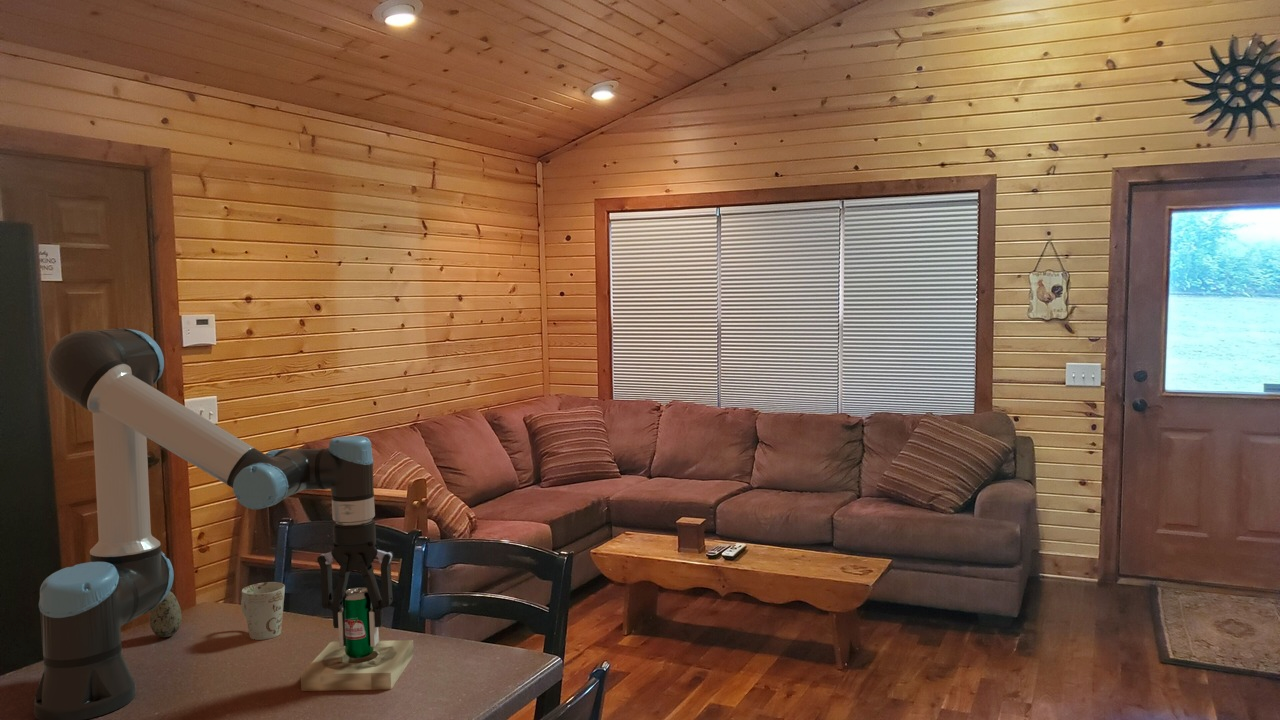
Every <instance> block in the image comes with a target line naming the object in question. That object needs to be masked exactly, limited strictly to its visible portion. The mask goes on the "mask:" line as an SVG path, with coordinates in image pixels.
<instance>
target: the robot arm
mask: <svg viewBox="0 0 1280 720" xmlns="http://www.w3.org/2000/svg"><path fill="white" fill-rule="evenodd" d="M46 365H47V373H48V376H49V378H50V380H51V382H52V384H53V386H54V387H56V389H57V390H58V391H59V392H60V393H61V394H63V395H64V396H65V397H66V398H68V399H69V400H71V401H73V402H74V403H76V404H77V405H79V406H80V407H82V408H84V409H86V410H87V411H89V412H91V413H92V414H91V415H92V430H93V451H94V453H93V454H94V469H95V470H94V471H95V475H94V476H95V494H96V509H97V512H96V513H97V532H98V533H97V534H98V540H97V541H98V542H96V544H95V545H94V546H93V547H91V548H90V550H89V561H88V562H82V563H77V564H75V565H73V566H67V567H64V568H61V569H59V570H56V571H55V572H53V573H51V574H50V575H49V576H47V577H46V578H45V579H44V580H43V582H42V583H41V585H40V587H39V601H38V609H39V612H40V625H41V644H42V655H43V657H42V658H43V669H42V672H41V677H40V679H39V683H38V686H37V689H36V693H35V695H34V700H33V713H34V714H33V715H34V718H35V719H37V720H88V719H93V718H95V717H100V716H102V715H106V714H108V713H111V712H114V711H116V710H118V709H121V708H122V707H124V706H126V705H128V704H129V703H131V701H132V700H133V699H134V698H135V696H136V682H135V679H134V676H133V675H132V672H131V670H130V668H129V666H128V665H129V664H128V663H127V662H126V661H127V660H126V659H125V657H124V655H123V651H122V632H121V631H122V630H121V629H122V627H123V626H125V625H127V624H128V623H130V622H132V621H134V620H135V619H136V618H139V617H141V616H143V615H146V614H147V613H149V612H151V610H152V609H154V608H155V607H156V606H157V605H158V604H159V603H160V602H162V601H163V600H164V599H165V597H166V596H167V595H168V593H169V592H170V591H171V590H172V586H173V584H174V577H175V576H174V573H175V572H174V568H173V565H172V561H171V560H170V558H167V556H166V554H165V553H164V552H163V551H162V548H161V545H162V543H161V541H160V540H159V539H157V538H156V537H155V536H153V535H152V530H151V529H152V527H151V509H150V508H151V507H150V486H149V485H150V484H149V463H148V462H149V461H148V445H147V444H148V443H147V442H148V439H149V440H151V441H153V442H154V443H156V444H158V445H159V446H161V447H163V448H164V449H165V450H166V451H169V452H171V453H172V454H173V455H176V456H178V457H179V458H181V459H182V460H184V461H186V462H187V463H189V464H191V465H193V466H195V467H196V468H198V469H199V470H201V471H203V472H204V473H206V474H208V475H209V476H211V477H212V478H215V479H216V480H218V481H219V482H221V483H223V484H225V485H227V486H228V487H230V488H231V489H232V490H233V491H232V492H233V494H234V497H235V498H236V500H237V502H238V503H239V504H240V505H242V506H243V507H245V508H247V509H250V510H262V509H265V508H269V507H274V506H276V505H277V504H279V503H281V501H284V500H285V499H287V498H289V497H292V496H293V495H295V494H297V493H300V492H301V491H310V490H313V491H315V490H330V495H331V513H332V515H331V517H332V520H333V521H334V523H333V524H332V537H333V538H332V540H333V546H332V548H331V551H329V552H323V553H322V554H320V555H319V556H318V557H317V559H316V560H317V563H318V566H319V569H320V583H321V584H320V586H321V587H320V588H321V591H320V592H321V608H322V609H325V610H326V609H327V610H330V611H331V612H332V621H333V622H332V623H333V628H334V629H338V641H339V647H344V646H345V636H344V614H343V597H344V595H345V591H346V590H347V586H348V582H349V577H350V573H351V572H353V571H355V572H360V574H361V575H360V576H361V577H362V578H363V580H364V581H363V582H364V583H365V588H367V591H368V594H369V597H370V600H371V603H372V609H371V610H370V612H369V620H370V644H371V647H374V646H375V645H376V644H377V643H378V642H379V641H380V636H379V635H380V634H379V628H381V627H382V626H383V624H384V611H383V610H384V609H386V608H388V607H389V606H390V605H391V604H392V603H393V600H394V599H393V584H392V583H393V582H392V568H391V567H392V565H391V563H392V560H393V557H394V552H393V551H391V550H389V551H388V552H387V551H385V550H380V547H379V546H378V544H377V533H376V532H377V531H376V521H375V520H374V517H376V509H375V492H374V491H375V490H374V459H373V449H372V441H371V440H370V439H369V437H366V436H363V435H347V436H337V437H334V438H331V439H330V440H329V443H328V447H327V448H289V447H287V448H286V447H285V448H283V449H272V450H269V451H268V452H266V454H265V453H264V452H262V451H260V450H258V449H257V448H255V447H254V446H252V445H250V444H249V443H247V442H246V441H244V440H242V439H240V438H239V437H237V436H235V435H234V434H232V433H230V432H229V431H227V430H225V429H224V428H222V427H220V426H219V425H217V424H215V423H213V422H212V421H210V420H208V419H207V418H205V417H204V416H203V415H200V414H198V413H197V412H196V411H194V410H192V409H190V408H189V407H187V406H185V405H184V404H182V403H180V402H178V401H177V400H175V399H173V398H172V397H170V396H169V395H167V394H165V393H163V392H162V391H160V390H159V389H157V388H155V387H154V385H155V384H156V383H157V382H158V380H159V379H160V378H161V377H162V374H163V371H164V370H165V369H164V368H165V359H164V354H163V352H162V349H161V347H160V346H159V345H158V343H157V341H156V340H155V339H153V338H152V337H151V336H149V334H147V333H145V332H143V331H140V330H136V329H130V328H120V327H118V328H109V329H108V328H106V329H92V330H91V329H89V330H88V329H87V330H86V329H85V330H78V331H77V330H76V331H74V332H71V333H69V334H67V335H64V336H62V337H61V338H60V339H59V340H58V341H57V342H56V343H55V344H54V345H53V347H52V348H51V350H50V352H49V354H48V357H47V363H46ZM376 558H378V563H379V564H380V581H381V592H380V588H379V585H378V582H377V580H376V576H375V571H374V565H373V562H374V560H375V559H376ZM334 560H335V562H336V563H337V564H338V566H339V571H338V578H337V583H336V588H335V591H334V597H333V566H332V563H333V561H334Z"/></svg>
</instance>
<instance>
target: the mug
mask: <svg viewBox="0 0 1280 720" xmlns="http://www.w3.org/2000/svg"><path fill="white" fill-rule="evenodd" d="M285 589H286V585H285V584H284V583H282V582H280V581H279V582H277V581H276V582H275V581H268V582H267V581H266V582H259V583H255V584H251V585H247V586H245V587H243V588H242V590H241V601H240V609H241V611H242V614H243V616H244V617H245V619H246V623H247V629H248V634H249V635H248V636H249V639H252V640H254V639H255V641H263V640H269V639H273V638H276V637H278V636H279V635H281V634H282V633H281V632H282V625H283V615H284V614H283V613H284V601H285V591H286V590H285Z"/></svg>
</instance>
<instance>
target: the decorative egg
mask: <svg viewBox="0 0 1280 720" xmlns="http://www.w3.org/2000/svg"><path fill="white" fill-rule="evenodd" d="M149 612H150V614H149V626H150V629H151V631H152V632H153V634H154V635H156V636H158V637H160V638H168V637H169V638H170V637H172V636H174V635H175V634H176V633H177V632H178V631H179V629H180V627H181V624H182V619H183V618H182V617H183V616H182V609H181V607H180V603H179V601H178V599H177V597H176V596H175V594H174V593H173V592H172V591H171V590H170V592H169V593H168V595H167V596H166V597H165V599H164V600H163V601H162V602H160V603H159V604H158V605H157V606H156V607H155V608H154V609H152V610H151V611H149Z"/></svg>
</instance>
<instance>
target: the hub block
mask: <svg viewBox="0 0 1280 720" xmlns="http://www.w3.org/2000/svg"><path fill="white" fill-rule="evenodd" d="M414 655H415V653H414V640H413V639H407V640H406V639H404V640H399V639H398V640H379V642H378V643H377V644H376V645H375V646H374V650H373V652H372V653H371V654H370V655H368V656H366V657H363V658H350V657H348V656H347V655H346V654H345V646H344V647H339V640H338V641H330V642H329V643H328V644H327V646H325V647H324V648H323V650H322V651H321V652H320V653H319V654H318V655H317V656H316V657H315V658H314V659H313V661H311V662H310V664H309V665H308V666H306V668H305V669H304V670H303V671H302V672H301V674H300V688H301V691H303V692H306V691H307V692H308V691H311V692H312V691H367V690H369V691H371V690H375V691H377V690H392V689H393V687H394V686H395V684H396V683H397V681H398V679H399V678H400V677H401V676H402V674H403V672H404V671H405V669H406V668H407V666H408V665H409V663H410V661H411V660H412V659H413V657H414ZM301 691H300V692H301Z"/></svg>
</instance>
